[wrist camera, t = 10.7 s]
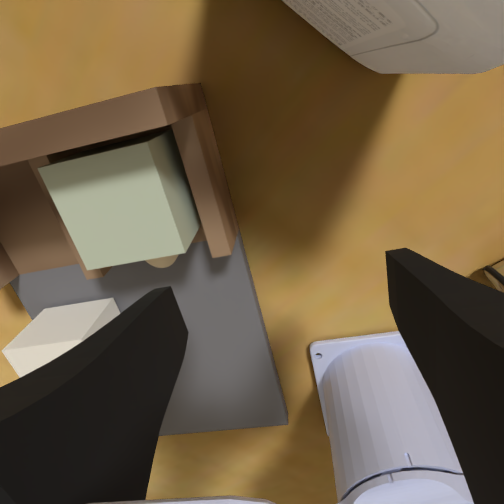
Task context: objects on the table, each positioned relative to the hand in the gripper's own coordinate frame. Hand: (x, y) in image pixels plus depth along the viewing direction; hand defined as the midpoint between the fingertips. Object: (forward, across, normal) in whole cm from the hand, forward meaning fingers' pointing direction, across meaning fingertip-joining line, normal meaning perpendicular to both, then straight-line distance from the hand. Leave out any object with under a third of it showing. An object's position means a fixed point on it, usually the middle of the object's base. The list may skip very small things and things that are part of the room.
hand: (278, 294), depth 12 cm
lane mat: (+9, +10, +9) cm, 17 cm away
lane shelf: (+9, +10, -3) cm, 14 cm away
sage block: (+8, +7, -2) cm, 11 cm away
